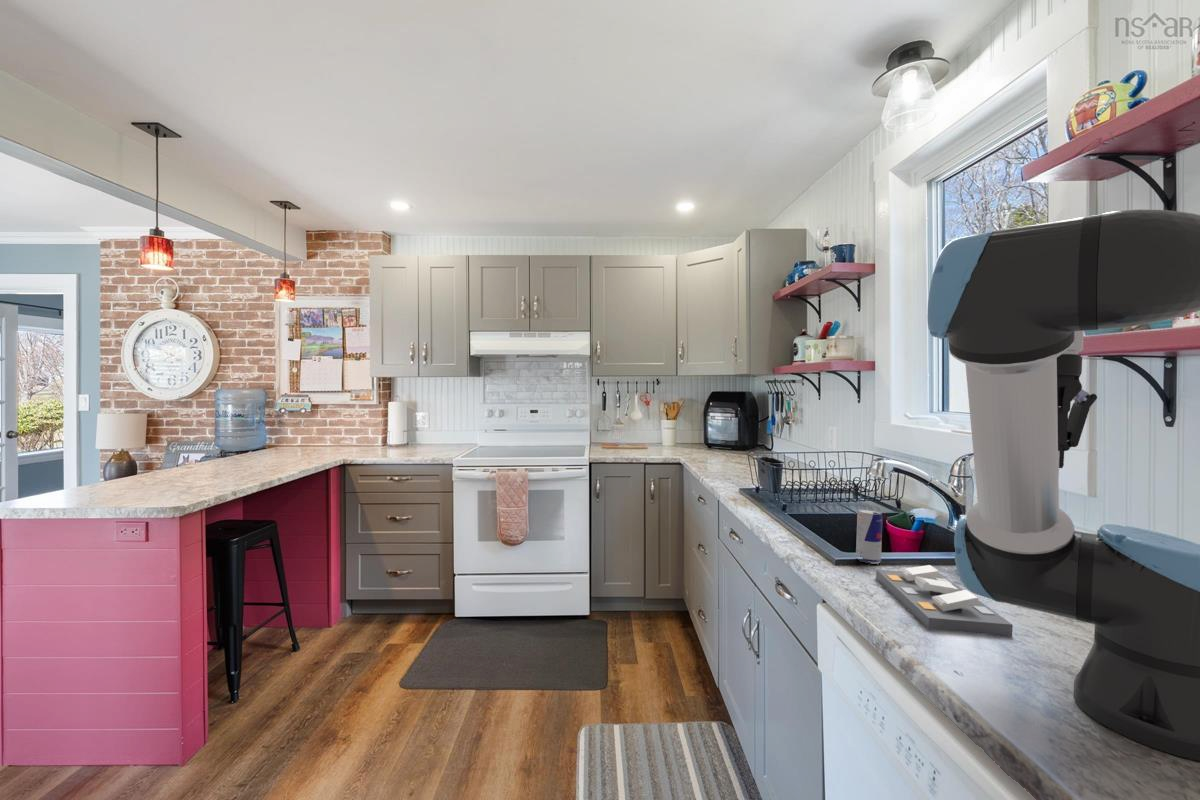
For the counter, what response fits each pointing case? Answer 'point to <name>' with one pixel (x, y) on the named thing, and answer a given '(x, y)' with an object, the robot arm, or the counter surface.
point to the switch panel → (934, 617)
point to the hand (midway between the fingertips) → (1048, 485)
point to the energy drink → (869, 535)
